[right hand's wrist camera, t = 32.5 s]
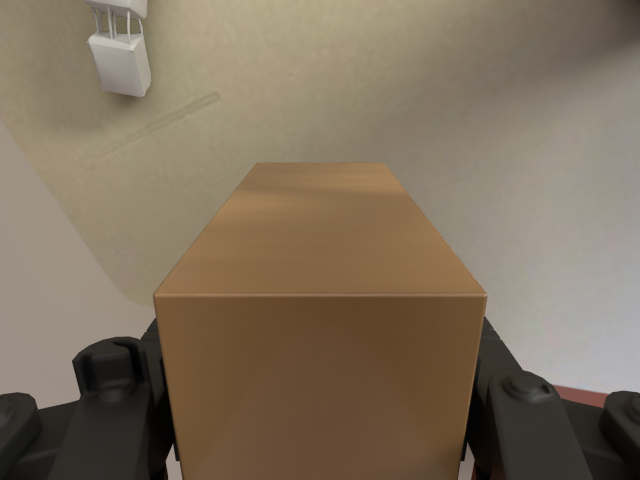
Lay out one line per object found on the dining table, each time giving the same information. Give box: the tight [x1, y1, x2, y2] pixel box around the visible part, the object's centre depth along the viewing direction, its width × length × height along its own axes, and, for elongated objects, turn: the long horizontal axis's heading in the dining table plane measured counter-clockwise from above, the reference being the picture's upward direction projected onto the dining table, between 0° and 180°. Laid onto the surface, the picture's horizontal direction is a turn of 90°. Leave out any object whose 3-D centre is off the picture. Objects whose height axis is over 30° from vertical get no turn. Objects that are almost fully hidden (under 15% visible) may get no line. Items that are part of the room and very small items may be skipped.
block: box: [153, 163, 487, 480], centre depth 12 cm, size 5×7×10 cm
